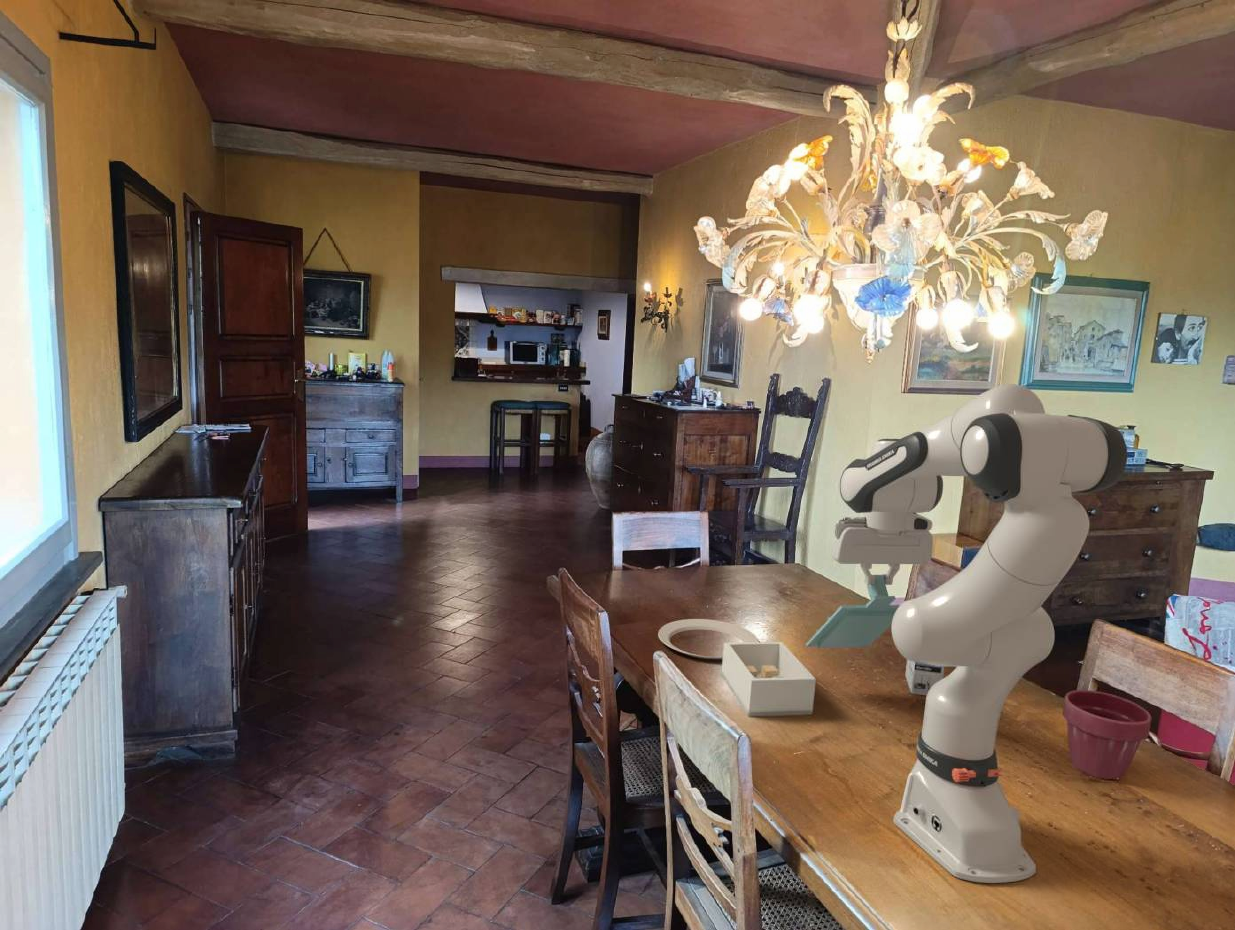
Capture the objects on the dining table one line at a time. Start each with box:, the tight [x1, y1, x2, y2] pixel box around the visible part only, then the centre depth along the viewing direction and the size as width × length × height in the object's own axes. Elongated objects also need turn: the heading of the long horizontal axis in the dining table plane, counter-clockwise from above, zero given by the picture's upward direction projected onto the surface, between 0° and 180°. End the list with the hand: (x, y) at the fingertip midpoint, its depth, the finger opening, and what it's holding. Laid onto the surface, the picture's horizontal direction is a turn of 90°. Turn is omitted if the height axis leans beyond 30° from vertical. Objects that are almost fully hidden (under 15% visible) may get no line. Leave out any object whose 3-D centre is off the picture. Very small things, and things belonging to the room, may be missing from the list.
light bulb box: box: [904, 659, 946, 697], centre depth 188 cm, size 11×7×11 cm, turn 168°
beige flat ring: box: [657, 618, 759, 660], centre depth 207 cm, size 26×26×2 cm
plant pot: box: [1062, 689, 1152, 780], centre depth 155 cm, size 14×14×13 cm
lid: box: [805, 574, 901, 649], centre depth 174 cm, size 25×15×7 cm
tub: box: [720, 641, 817, 717], centre depth 180 cm, size 20×14×8 cm
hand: (878, 584), depth 165 cm, fingers closed on lid, 2 cm apart
